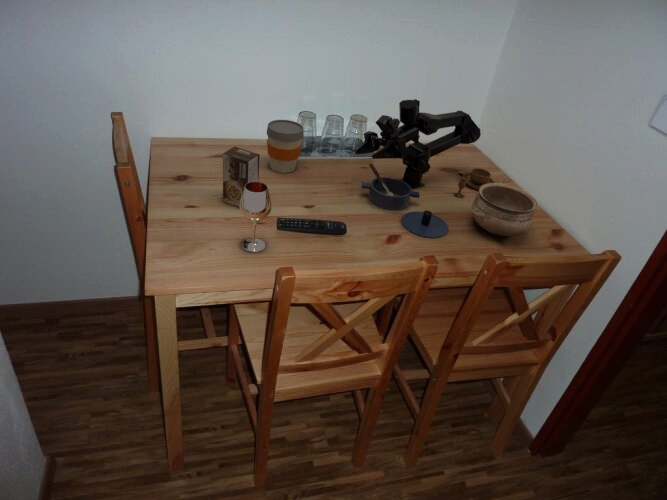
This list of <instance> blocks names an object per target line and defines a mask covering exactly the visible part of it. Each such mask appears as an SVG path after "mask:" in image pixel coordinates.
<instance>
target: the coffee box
mask: <svg viewBox="0 0 667 500" xmlns="http://www.w3.org/2000/svg"><path fill="white" fill-rule="evenodd" d="M260 157H261V154H260V153H256V152H254V151H250V150H247V149H245V148H241V147H238V146H232V147H231V148H229V149H228V150H226V151H224V152H222V202H224V203H226V204H229V205H232V206H235V207H238V208H240V207H239V204H240V199H241V196H242V193H243V190H244V187H245V185H246V184H247V183H249V182H260V159H261V158H260Z"/></svg>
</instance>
